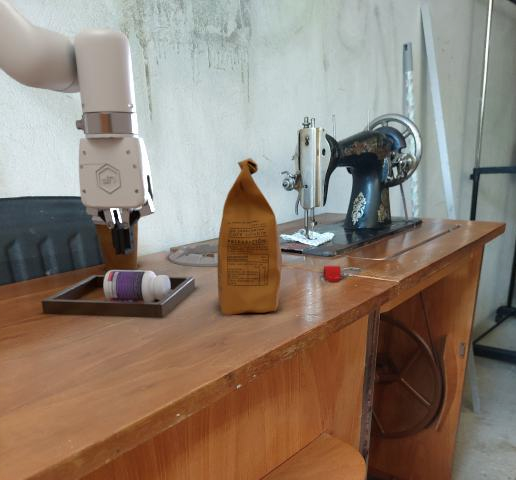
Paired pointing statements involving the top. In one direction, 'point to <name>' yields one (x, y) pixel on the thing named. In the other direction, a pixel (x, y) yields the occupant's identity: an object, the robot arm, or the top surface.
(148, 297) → the pill bottle
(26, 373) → the top surface
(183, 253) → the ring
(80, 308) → the walnut frame
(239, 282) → the coffee package
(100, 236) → the disposable coffee cup
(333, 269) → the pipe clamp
